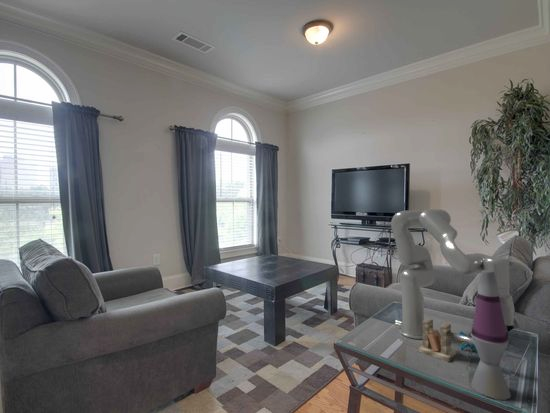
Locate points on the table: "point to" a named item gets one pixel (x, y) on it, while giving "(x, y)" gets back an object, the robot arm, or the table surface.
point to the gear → (466, 343)
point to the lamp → (489, 339)
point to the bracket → (446, 350)
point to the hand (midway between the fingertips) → (497, 339)
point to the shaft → (460, 337)
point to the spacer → (435, 340)
